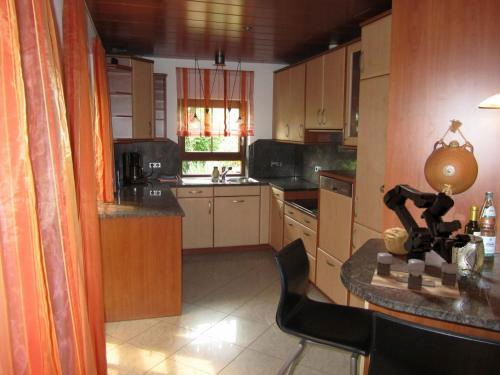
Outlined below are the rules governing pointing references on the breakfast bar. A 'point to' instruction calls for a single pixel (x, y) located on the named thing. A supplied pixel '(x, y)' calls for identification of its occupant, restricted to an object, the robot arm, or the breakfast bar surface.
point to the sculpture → (396, 240)
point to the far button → (416, 267)
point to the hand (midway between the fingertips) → (450, 263)
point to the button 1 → (384, 258)
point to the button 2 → (449, 268)
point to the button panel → (417, 282)
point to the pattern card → (424, 281)
